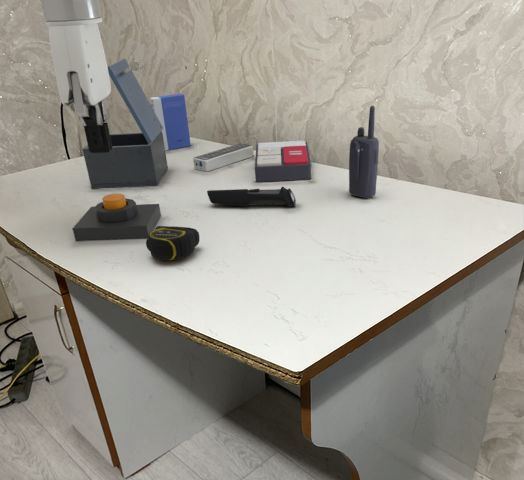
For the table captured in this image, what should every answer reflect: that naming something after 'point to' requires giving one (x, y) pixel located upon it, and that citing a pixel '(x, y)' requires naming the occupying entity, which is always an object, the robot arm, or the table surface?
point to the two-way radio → (364, 161)
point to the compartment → (127, 162)
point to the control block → (117, 222)
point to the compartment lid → (135, 97)
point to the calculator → (282, 161)
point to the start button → (114, 201)
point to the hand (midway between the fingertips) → (101, 151)
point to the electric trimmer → (252, 197)
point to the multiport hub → (223, 157)
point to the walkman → (172, 120)
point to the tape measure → (172, 242)
